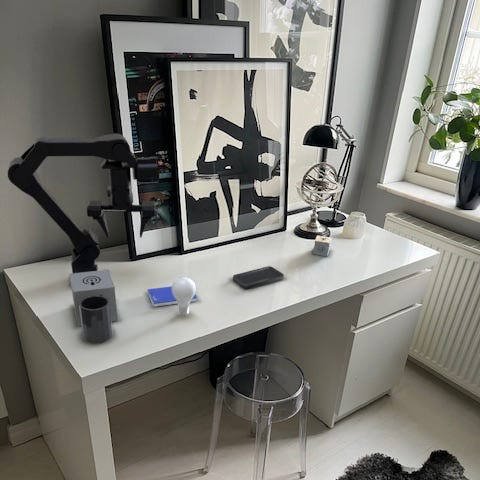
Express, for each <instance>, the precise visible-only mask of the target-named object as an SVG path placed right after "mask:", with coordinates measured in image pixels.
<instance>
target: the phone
mask: <svg viewBox="0 0 480 480" xmlns="http://www.w3.org/2000/svg"><path fill="white" fill-rule="evenodd" d="M284 277H285V274H284V273H282V272H281V271H279V270H278V269H276V268H274V267H273V266H270V265H269V266H263V267H260V268H256V269H252V270H248V271H245V272H241V273H236V274H233V276H232V280H233V281H234V282H235V283H236V284H237V285H238V286H240V287H241V288H243V289H244V290H250V289H253V288H256V287H260V286H264V285H267V284H271V283H275V282H279V281H281V280H283V279H284Z"/></svg>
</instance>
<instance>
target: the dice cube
mask: <svg viewBox="0 0 480 480" xmlns="http://www.w3.org/2000/svg"><path fill="white" fill-rule="evenodd" d="M331 242H332V237H329V236H323V235H319V234H318V235H316V237H315V240H314V244H313V245H314V246H313V251H312V252H313V253H312V254H313V255H315V256H316V255H317V256H321V257H328V256H329V253H330V250H331V244H332V243H331Z"/></svg>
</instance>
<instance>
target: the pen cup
mask: <svg viewBox="0 0 480 480" xmlns="http://www.w3.org/2000/svg"><path fill="white" fill-rule="evenodd" d="M79 309H80V317H81V324H82V326H81V331H82V338H83V340H84V341H86V342H87V343H90V344H102V343H106V342H108V341H109V340H111V338H112V337H113V324H112V322H113V321H111V311H110V301H109V299H108V298H106V297H104V296H99V295H93V296H88V297H85V298H83V299H82V300H81V301H80V302H79Z"/></svg>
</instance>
